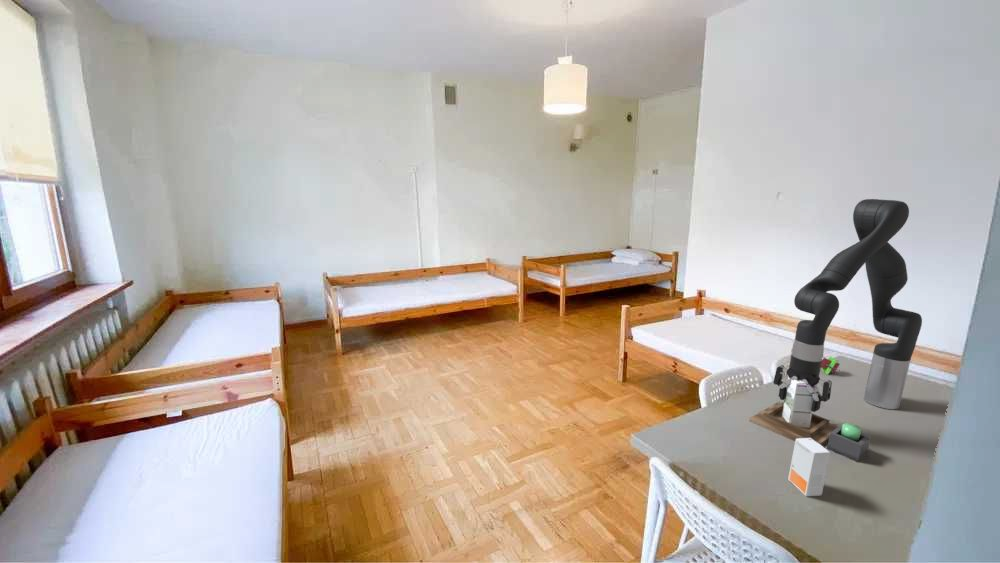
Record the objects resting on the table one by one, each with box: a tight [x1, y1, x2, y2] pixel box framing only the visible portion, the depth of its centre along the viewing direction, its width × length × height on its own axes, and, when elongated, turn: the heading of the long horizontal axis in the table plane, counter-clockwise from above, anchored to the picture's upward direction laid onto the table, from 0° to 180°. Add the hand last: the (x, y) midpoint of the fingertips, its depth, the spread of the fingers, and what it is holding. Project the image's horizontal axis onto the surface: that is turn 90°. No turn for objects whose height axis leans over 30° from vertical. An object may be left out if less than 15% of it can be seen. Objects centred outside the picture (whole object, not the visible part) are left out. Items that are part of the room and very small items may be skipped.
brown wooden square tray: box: [749, 401, 840, 446], centre depth 131 cm, size 18×18×3 cm
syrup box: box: [782, 375, 818, 428], centre depth 129 cm, size 6×6×14 cm
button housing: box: [826, 425, 872, 463], centre depth 118 cm, size 7×7×5 cm
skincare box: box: [787, 438, 831, 497], centre depth 102 cm, size 6×4×12 cm
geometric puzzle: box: [820, 355, 841, 376], centre depth 167 cm, size 7×7×8 cm
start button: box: [841, 422, 862, 441], centre depth 117 cm, size 4×4×3 cm
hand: (797, 404), depth 129 cm, fingers open, 8 cm apart
